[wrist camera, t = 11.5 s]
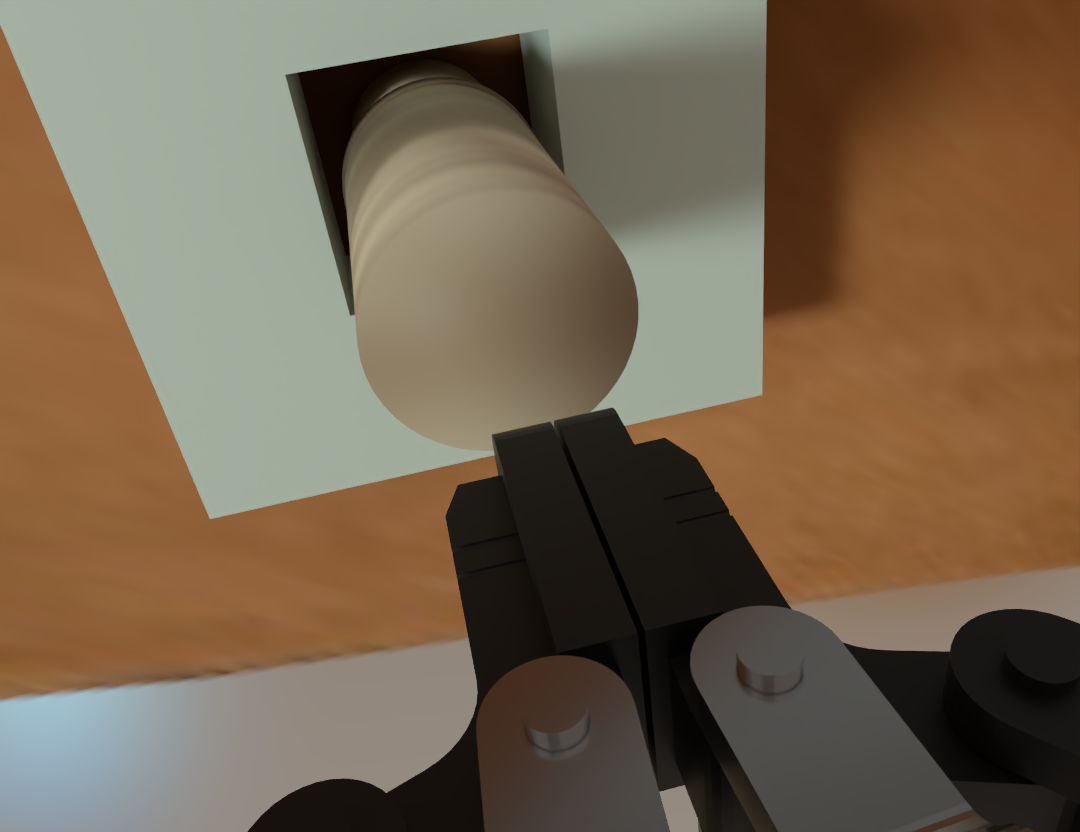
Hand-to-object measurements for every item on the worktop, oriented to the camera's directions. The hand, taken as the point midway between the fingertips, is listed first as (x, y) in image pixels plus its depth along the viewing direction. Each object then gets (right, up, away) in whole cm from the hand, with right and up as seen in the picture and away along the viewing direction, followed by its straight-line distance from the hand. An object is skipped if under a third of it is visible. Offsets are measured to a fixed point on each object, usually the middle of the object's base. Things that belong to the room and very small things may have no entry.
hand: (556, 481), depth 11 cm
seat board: (-3, +8, +13) cm, 16 cm away
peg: (-3, +8, +13) cm, 16 cm away
